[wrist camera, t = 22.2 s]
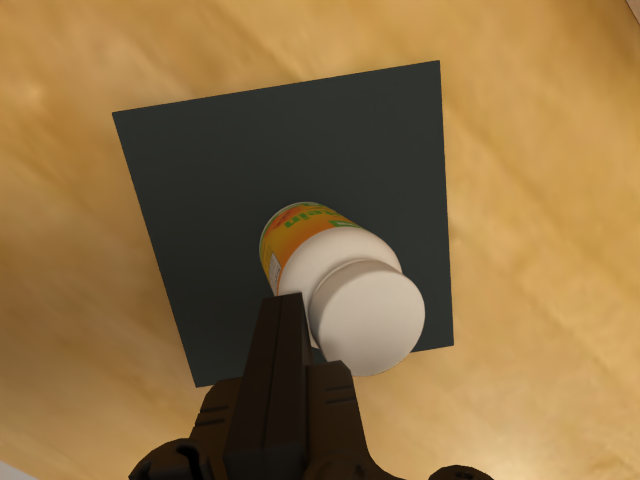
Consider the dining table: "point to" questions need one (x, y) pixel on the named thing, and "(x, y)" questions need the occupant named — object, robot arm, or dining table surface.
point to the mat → (288, 194)
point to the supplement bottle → (343, 286)
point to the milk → (635, 8)
